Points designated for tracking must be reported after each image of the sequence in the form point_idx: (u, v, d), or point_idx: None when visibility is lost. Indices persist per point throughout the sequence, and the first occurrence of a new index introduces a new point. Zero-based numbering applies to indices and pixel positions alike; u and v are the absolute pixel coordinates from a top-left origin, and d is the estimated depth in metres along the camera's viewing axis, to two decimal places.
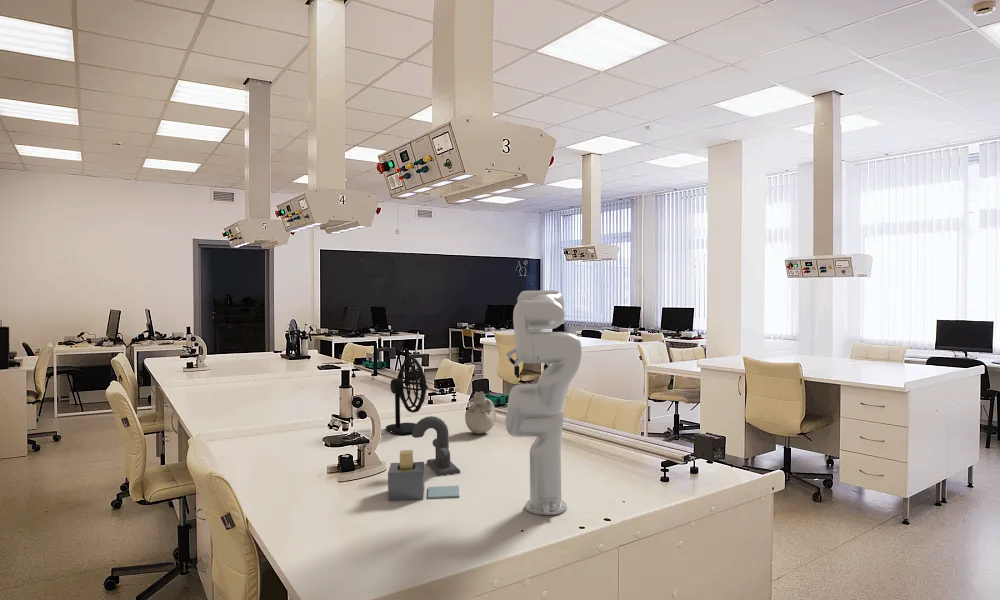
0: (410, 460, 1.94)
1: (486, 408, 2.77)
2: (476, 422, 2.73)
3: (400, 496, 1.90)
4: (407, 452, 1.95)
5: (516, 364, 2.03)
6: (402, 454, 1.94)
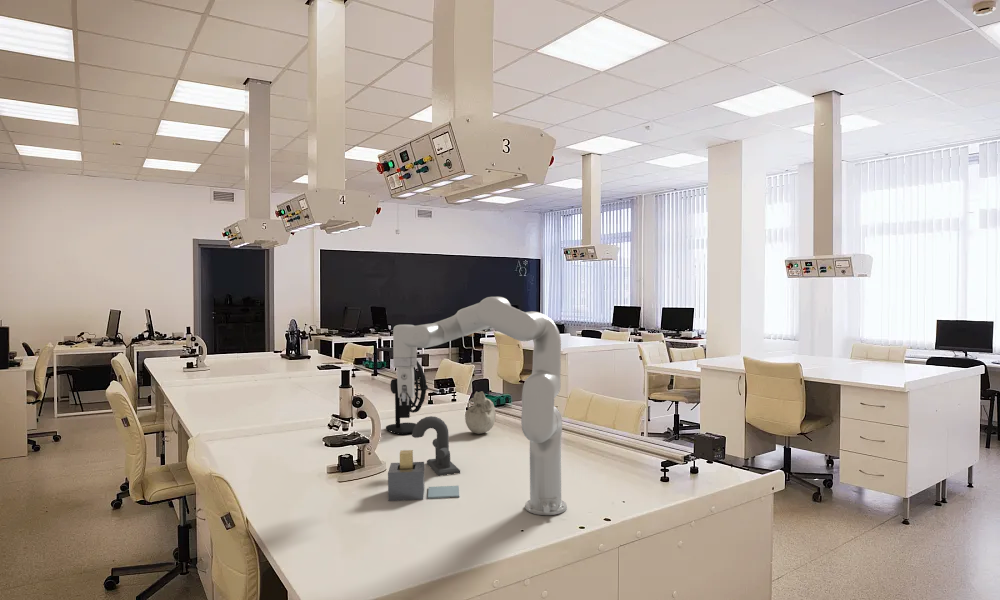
0: (410, 460, 1.94)
1: (486, 408, 2.77)
2: (476, 422, 2.73)
3: (400, 496, 1.90)
4: (407, 452, 1.95)
5: None
6: (402, 454, 1.94)
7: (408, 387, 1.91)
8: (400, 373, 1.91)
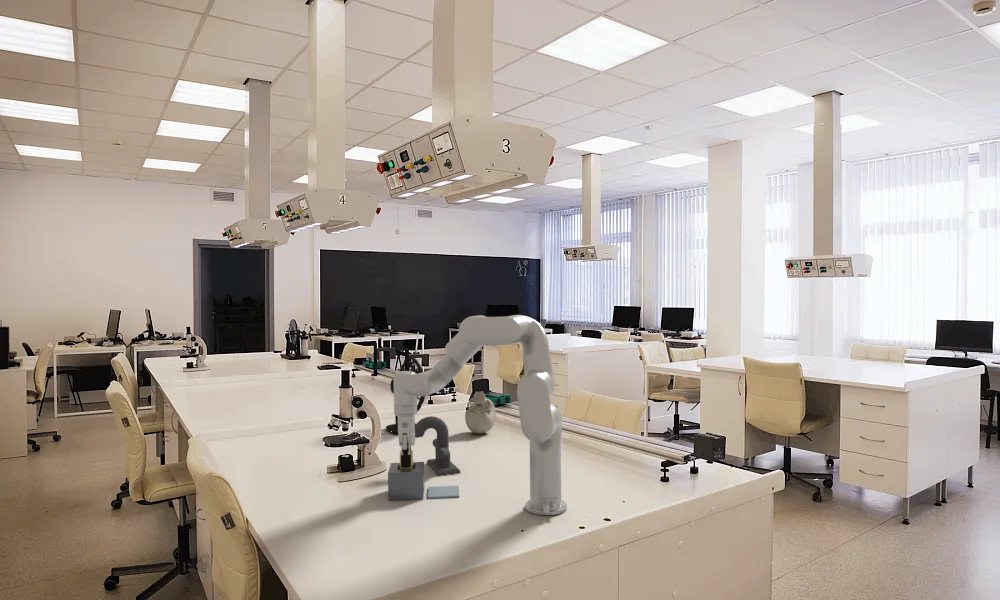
0: None
1: (486, 408, 2.77)
2: (476, 422, 2.73)
3: (400, 496, 1.90)
4: None
5: (409, 453, 1.93)
6: None
7: (409, 435, 1.91)
8: (401, 421, 1.91)
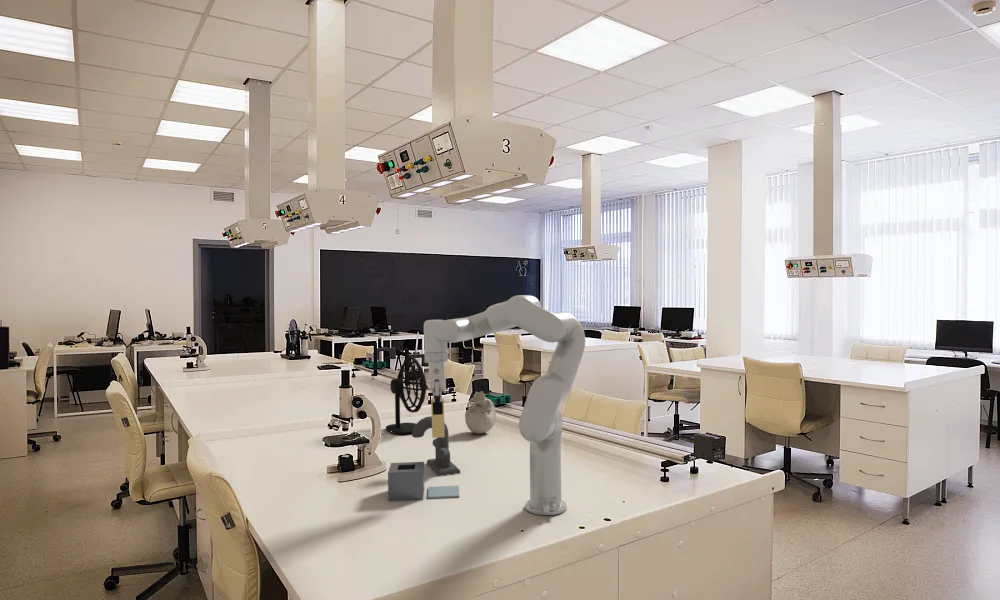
0: None
1: (486, 408, 2.77)
2: (476, 422, 2.73)
3: (400, 496, 1.90)
4: None
5: None
6: None
7: (441, 381, 1.91)
8: (432, 368, 1.92)
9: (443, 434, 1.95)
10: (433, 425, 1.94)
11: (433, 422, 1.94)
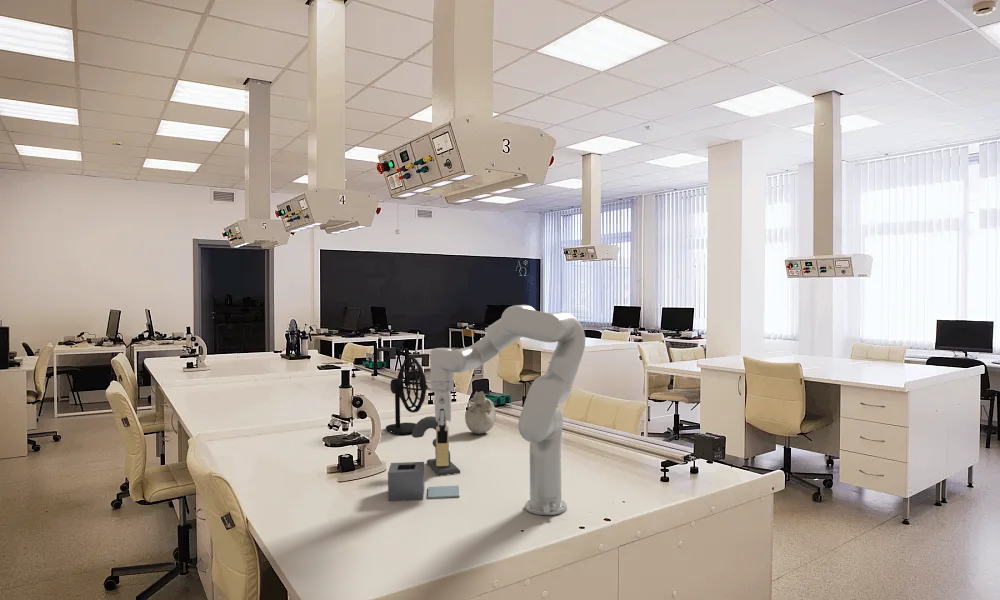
0: None
1: (486, 408, 2.77)
2: (476, 422, 2.73)
3: (400, 496, 1.90)
4: None
5: None
6: None
7: (446, 411, 1.92)
8: (438, 397, 1.92)
9: (447, 462, 1.95)
10: (437, 453, 1.95)
11: (437, 450, 1.95)
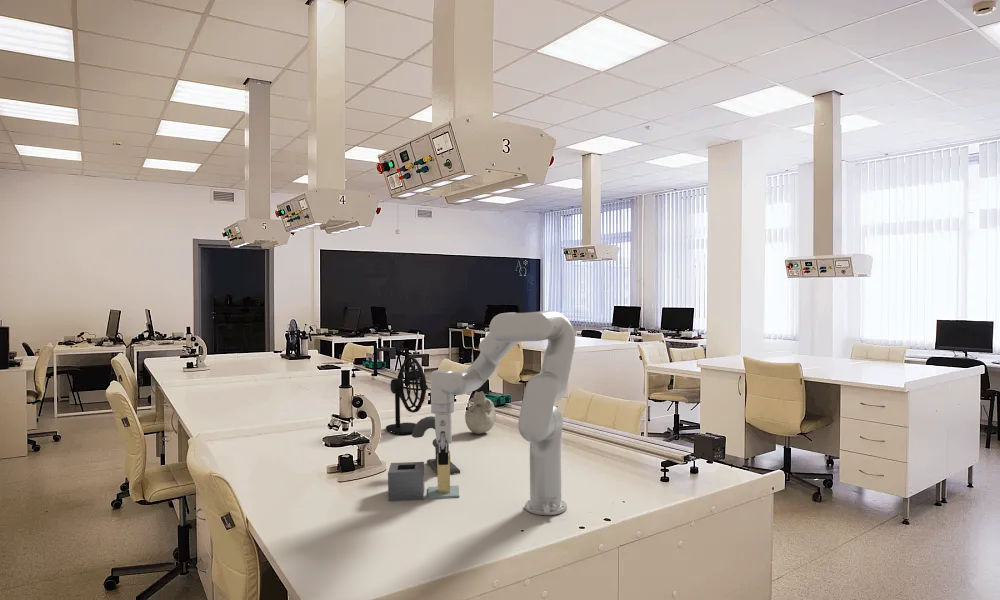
0: None
1: (486, 408, 2.77)
2: (476, 422, 2.73)
3: (400, 496, 1.90)
4: None
5: (446, 450, 1.92)
6: None
7: (446, 433, 1.92)
8: (438, 419, 1.92)
9: (448, 489, 1.95)
10: (439, 481, 1.95)
11: (439, 478, 1.95)
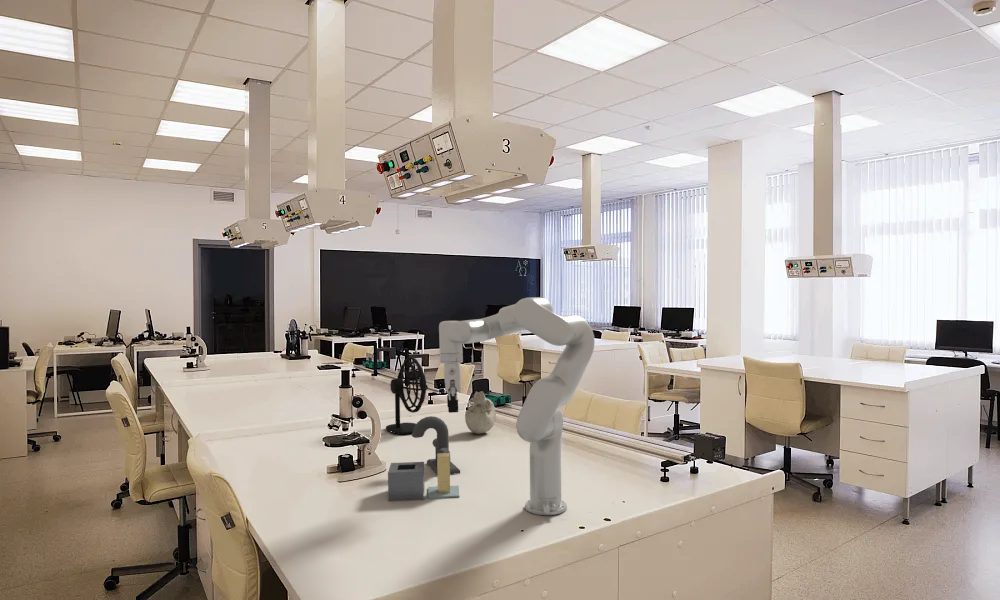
0: (447, 463, 1.95)
1: (486, 408, 2.77)
2: (476, 422, 2.73)
3: (400, 496, 1.90)
4: (444, 455, 1.96)
5: (456, 398, 1.93)
6: (440, 457, 1.95)
7: (456, 382, 1.93)
8: (448, 368, 1.94)
9: (448, 489, 1.95)
10: (439, 481, 1.95)
11: (439, 478, 1.95)
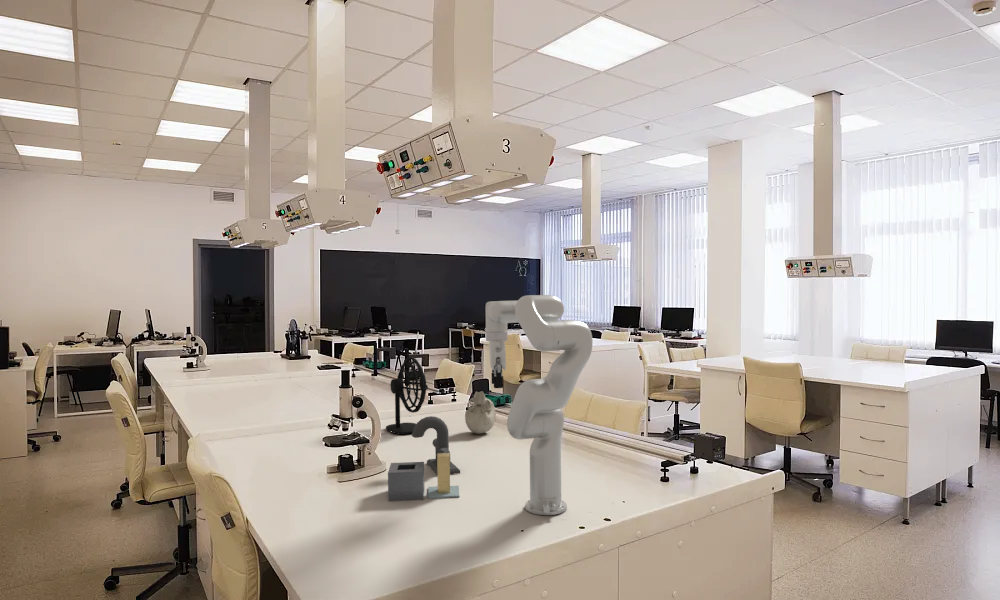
0: (447, 463, 1.95)
1: (486, 408, 2.77)
2: (476, 422, 2.73)
3: (400, 496, 1.90)
4: (444, 455, 1.96)
5: None
6: (440, 457, 1.95)
7: (502, 359, 2.03)
8: (494, 346, 2.03)
9: (448, 489, 1.95)
10: (439, 481, 1.95)
11: (439, 478, 1.95)
